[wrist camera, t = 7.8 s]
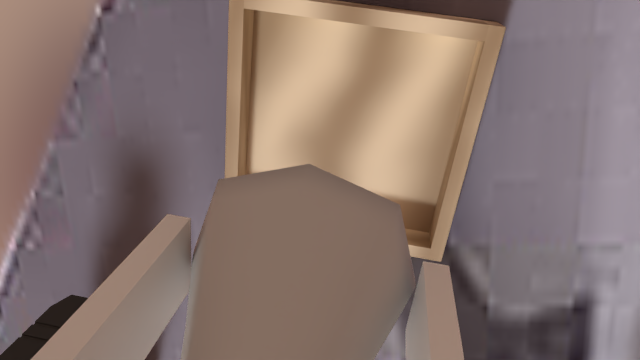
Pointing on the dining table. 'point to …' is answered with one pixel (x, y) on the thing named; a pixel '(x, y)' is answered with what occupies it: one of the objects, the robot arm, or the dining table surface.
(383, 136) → the serving tray
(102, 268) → the dining table surface
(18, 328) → the dining table surface
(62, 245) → the dining table surface
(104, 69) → the dining table surface
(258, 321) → the flask
